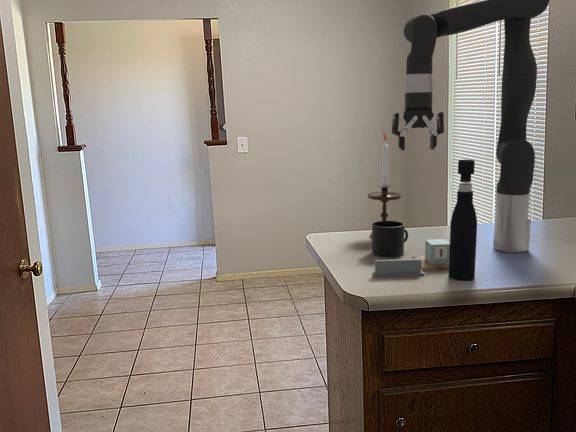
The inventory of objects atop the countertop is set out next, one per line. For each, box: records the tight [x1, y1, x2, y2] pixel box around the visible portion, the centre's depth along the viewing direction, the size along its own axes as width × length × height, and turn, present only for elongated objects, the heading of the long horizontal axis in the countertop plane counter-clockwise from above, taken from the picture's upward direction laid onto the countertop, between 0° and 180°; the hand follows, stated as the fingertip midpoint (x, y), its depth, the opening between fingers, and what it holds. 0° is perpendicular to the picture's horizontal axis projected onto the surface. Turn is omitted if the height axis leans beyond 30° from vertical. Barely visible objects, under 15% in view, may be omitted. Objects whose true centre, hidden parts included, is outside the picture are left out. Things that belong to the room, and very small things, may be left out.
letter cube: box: [424, 238, 450, 264], centre depth 155 cm, size 6×6×6 cm
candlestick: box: [367, 131, 402, 239], centre depth 185 cm, size 11×11×35 cm
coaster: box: [412, 255, 449, 271], centre depth 156 cm, size 11×11×1 cm
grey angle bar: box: [372, 258, 425, 278], centre depth 147 cm, size 13×3×4 cm, turn 92°
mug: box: [371, 220, 409, 258], centre depth 168 cm, size 9×12×9 cm
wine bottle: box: [448, 159, 478, 282], centre depth 142 cm, size 6×6×30 cm
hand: (417, 149), depth 160 cm, fingers open, 8 cm apart
